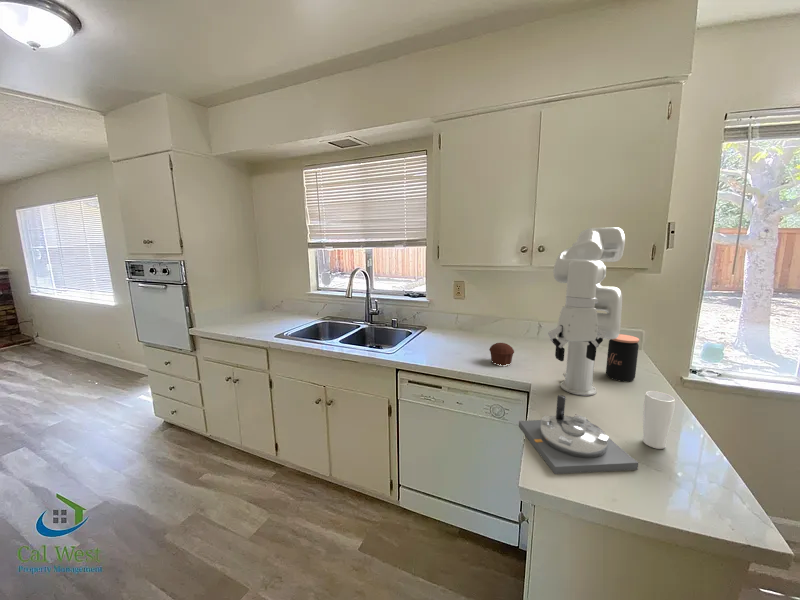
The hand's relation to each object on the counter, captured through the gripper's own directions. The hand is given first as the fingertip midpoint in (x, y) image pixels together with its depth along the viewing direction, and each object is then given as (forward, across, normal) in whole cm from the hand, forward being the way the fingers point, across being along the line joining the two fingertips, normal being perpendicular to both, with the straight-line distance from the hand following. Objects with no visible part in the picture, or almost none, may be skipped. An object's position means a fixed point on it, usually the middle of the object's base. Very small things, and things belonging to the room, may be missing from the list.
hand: (575, 359), depth 98 cm
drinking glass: (+24, -21, +8) cm, 32 cm away
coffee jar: (+22, -47, -38) cm, 64 cm away
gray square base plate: (+24, +3, +6) cm, 25 cm away
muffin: (+22, -2, -60) cm, 64 cm away
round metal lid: (+21, +3, +6) cm, 23 cm away
